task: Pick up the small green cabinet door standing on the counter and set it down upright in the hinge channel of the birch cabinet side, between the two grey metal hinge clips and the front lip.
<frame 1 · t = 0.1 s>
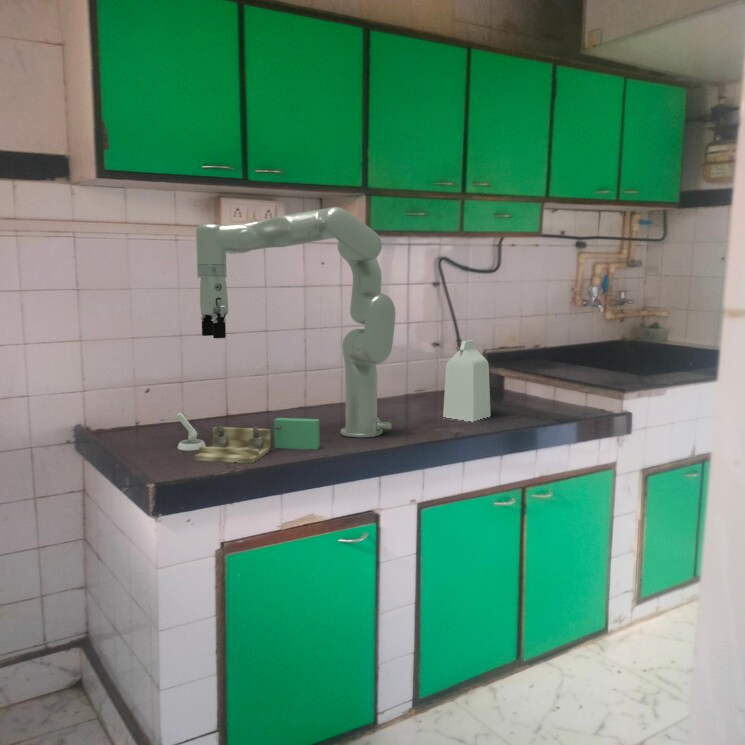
hand: (213, 336, 193), 31 cm above the worktop, tool pointing down, fingers open, 9 cm apart
milk: (466, 418, 245), on the worktop
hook: (191, 448, 201), on the worktop
door: (297, 447, 201), on the worktop
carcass: (233, 455, 192), on the worktop
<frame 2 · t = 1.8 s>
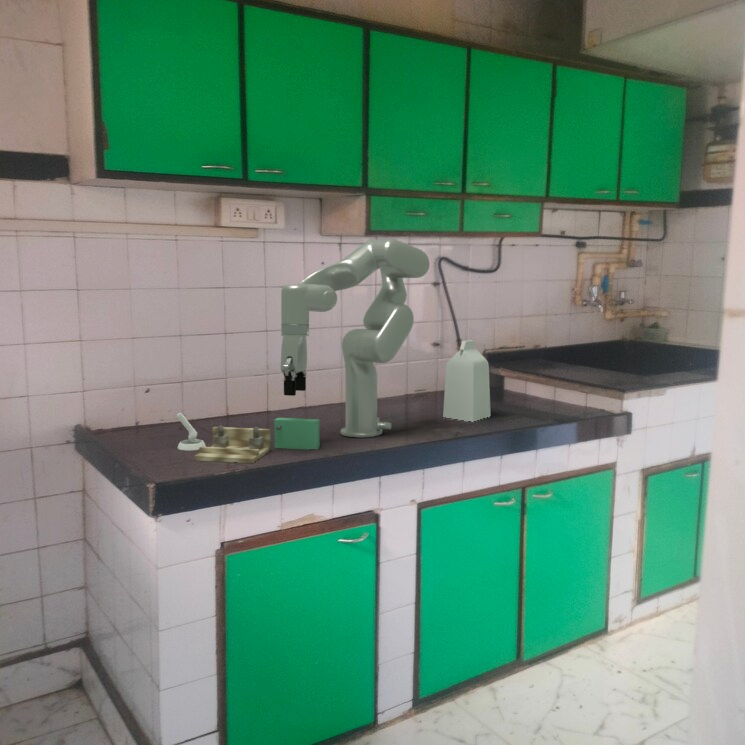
hand: (295, 392, 199), 15 cm above the worktop, tool pointing down, fingers open, 9 cm apart
nothing on the worktop moved.
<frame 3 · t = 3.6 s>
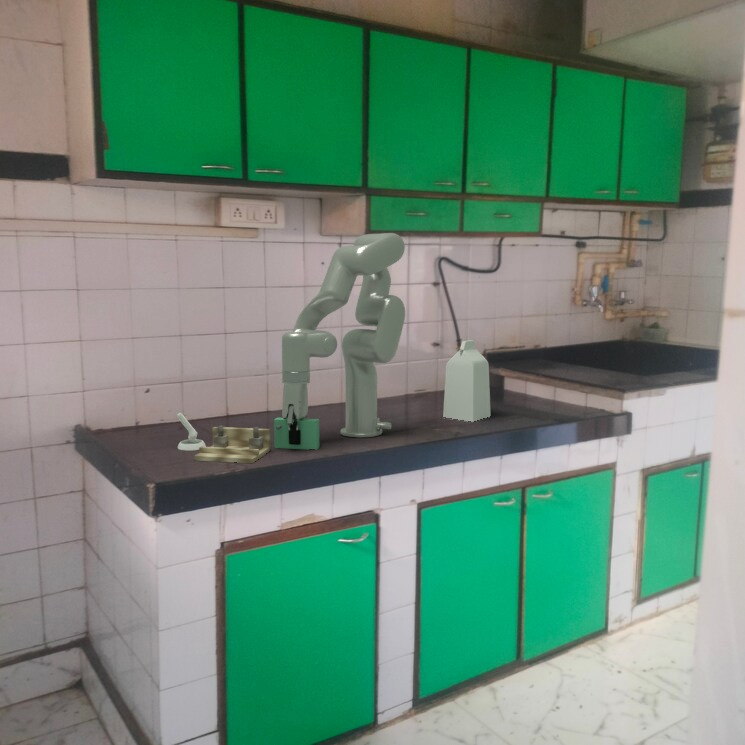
hand: (296, 442, 201), 1 cm above the worktop, tool pointing down, fingers closed on door, 3 cm apart
door: (296, 447, 201), on the worktop, touching gripper
everything else where it was.
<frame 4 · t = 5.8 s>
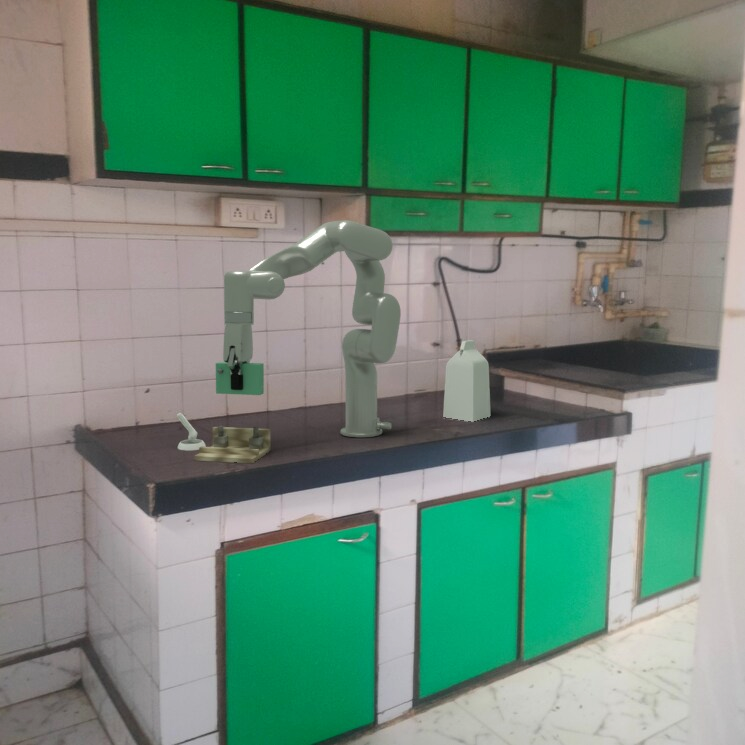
hand: (239, 388, 191), 18 cm above the worktop, tool pointing down, fingers closed on door, 3 cm apart
door: (239, 393, 191), point 16 cm above the worktop, touching gripper
everything else where it was.
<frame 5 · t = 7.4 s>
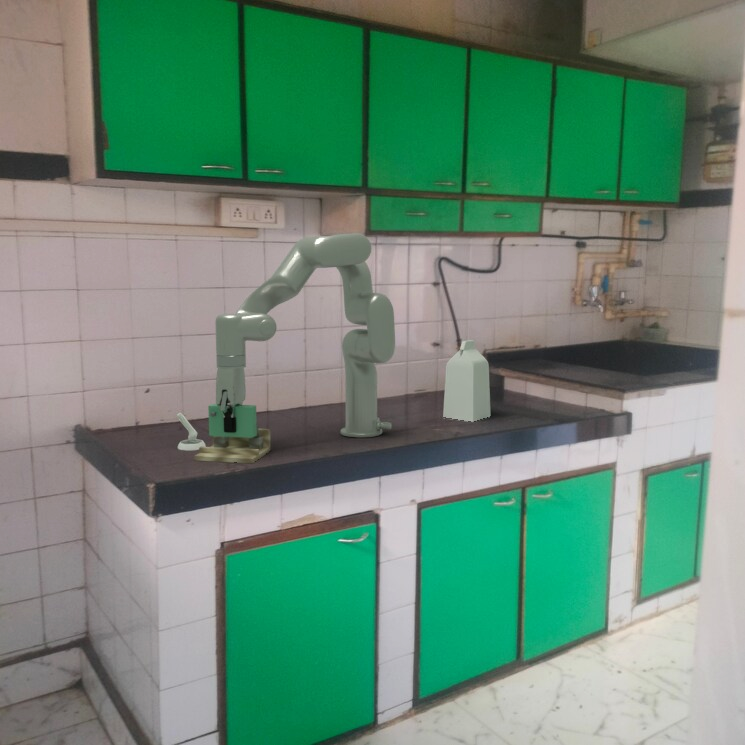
hand: (232, 430, 191), 7 cm above the worktop, tool pointing down, fingers closed on door, 3 cm apart
door: (233, 435, 191), point 5 cm above the worktop, touching gripper
everything else where it was.
when the fingers open (4 cm above the worktop, at t = 8.3 s): door stays where it is, resting on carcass.
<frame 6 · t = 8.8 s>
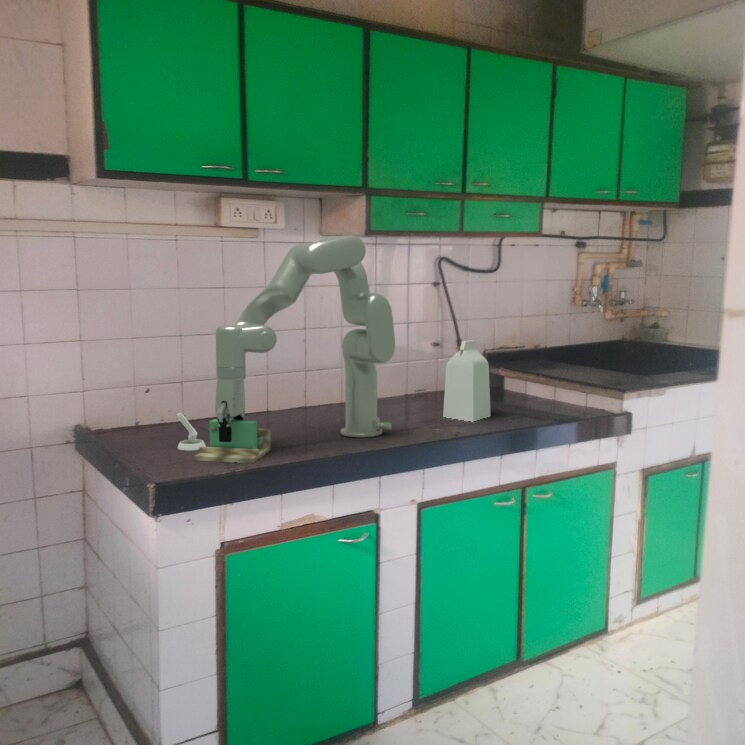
hand: (232, 437, 191), 5 cm above the worktop, tool pointing down, fingers open, 8 cm apart
door: (233, 450, 192), point 1 cm above the worktop, touching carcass
everything else where it was.
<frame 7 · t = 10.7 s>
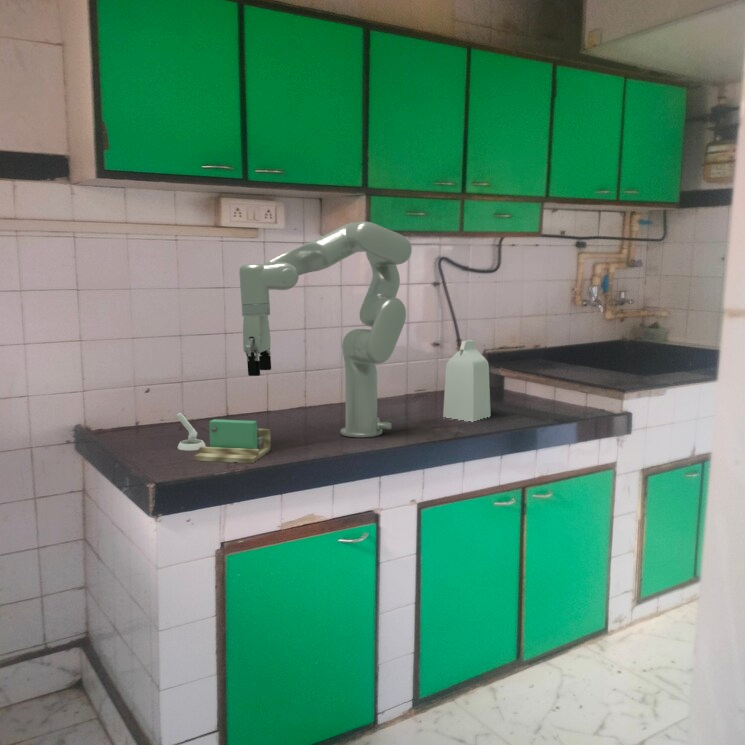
hand: (260, 372, 198), 21 cm above the worktop, tool pointing down, fingers open, 9 cm apart
nothing on the worktop moved.
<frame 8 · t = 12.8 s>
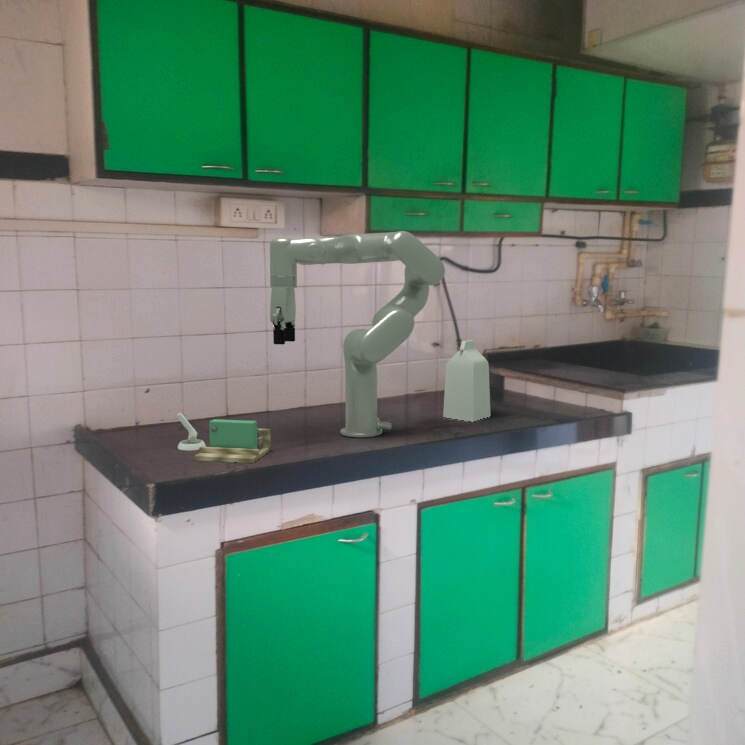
hand: (284, 342, 207), 28 cm above the worktop, tool pointing down, fingers open, 9 cm apart
nothing on the worktop moved.
at the end: door 0.1 cm off-centre on the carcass, point 1.2 cm above the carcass's base; door tilted 0°; the gripper is holding nothing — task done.
